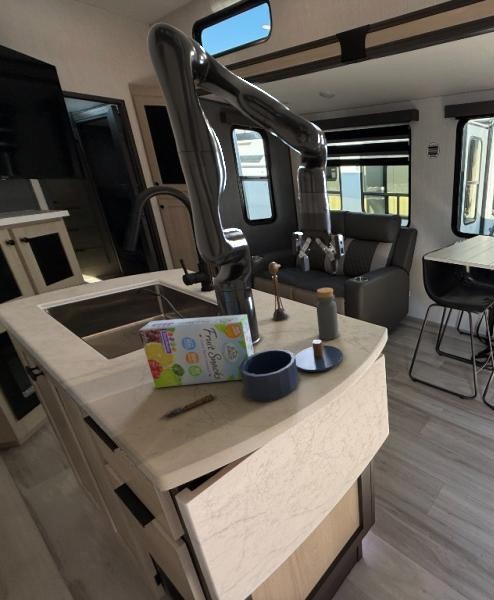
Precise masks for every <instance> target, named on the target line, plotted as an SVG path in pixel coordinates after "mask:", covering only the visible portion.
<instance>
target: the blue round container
mask: <svg viewBox="0 0 494 600" xmlns="http://www.w3.org/2000/svg"><path fill="white" fill-rule="evenodd" d="M295 356H296V355H295V354H294V352H292V351H289V350H288V349H282V348H275V349H274V348H273V349H266V350H262V351H258V352H256V353H254V354H253V355H251V356H249V357H248V358H246V359H245V360H243V362H242V363H241V365H240V372H241V377H242V379H241V382H242V387H243V392H244V395H245V397H246V398H247V399H248V400H250V401H253V402H258V403H266V402H267V403H268V402H272V401H273V402H274V401H277V400H280V399H282V398H284V397H286V396H288V395H290V394H291V393H292V392H293V391H294V390H295V389H296V388H297V386H298V384H299V374H298V368H297V367H296V359H295Z"/></svg>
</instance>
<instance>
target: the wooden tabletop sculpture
mask: <svg viewBox="0 0 494 600" xmlns="http://www.w3.org/2000/svg"><path fill="white" fill-rule="evenodd" d="M280 267H281V264H280V263H279V264H278V263H277V262H276V261H272V262H270V263H269V264H268V272H269V273H270V274H272V278H271V279H272V285H273V292H274V311H273V314H272V317H273V320H274V321H277V322H279V321H284V320H287V319H288V318H289V317H288V313H287V311H286V310H285V308H284V305H283V302H282V299H281V294H280V287H279V281H278V275H276V274H277V273H278V271H279V268H280Z"/></svg>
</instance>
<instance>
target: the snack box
mask: <svg viewBox="0 0 494 600" xmlns="http://www.w3.org/2000/svg"><path fill="white" fill-rule="evenodd" d="M138 334H139V337H140V340H141V343H142V347H143V350H144V353H145V357H146V360H147V364H148V366H149V369H150V373H151V376H152V379H153V383H154V386H155V388H156V389H158V388H168V387H177V386H188V385H198V384H209V383H218V382H229V381H239V380H242V377H241V372H240V365H241V363H242V362H243V360H245V359H246V358H248V357H249V356H251V355H253V354H255V351H254V345H252V340H251V334H250V329H249V323H248V317H247V314H245V315H231V316H217V315H216V316H205V317H203V316H202V317H191V318H186V319H182V318H176V319H161V320H151V321H149V322H147V323H146V324H145V325H144V326H142V327H141V328H140V329H138Z"/></svg>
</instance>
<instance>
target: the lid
mask: <svg viewBox="0 0 494 600" xmlns="http://www.w3.org/2000/svg"><path fill="white" fill-rule="evenodd" d="M294 356H295V359H296V367H297V370H300V371H302V372H303V371H304V372H308V373H316V372H324V371H327V370H330V369H333V368H335V367H336V366H338V365H339V364H340V363H341V362H342V361H343V358H344V353H343V352H342V350H341V349H340V348H339V347H336V346H333V345H323V341H322V339H314V340H312V346H311V347H308V348H305V349H303V350H301V351H299V352H298V353H296V354H295V355H294Z"/></svg>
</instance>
